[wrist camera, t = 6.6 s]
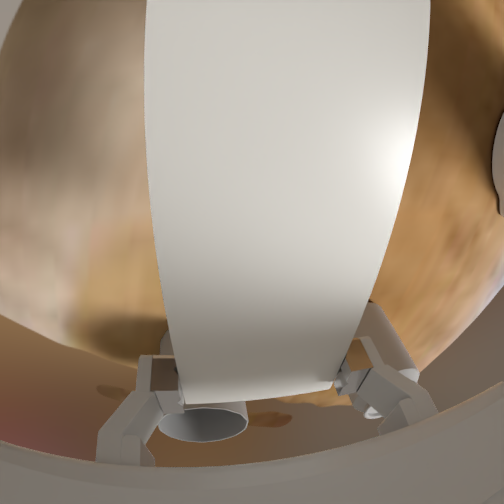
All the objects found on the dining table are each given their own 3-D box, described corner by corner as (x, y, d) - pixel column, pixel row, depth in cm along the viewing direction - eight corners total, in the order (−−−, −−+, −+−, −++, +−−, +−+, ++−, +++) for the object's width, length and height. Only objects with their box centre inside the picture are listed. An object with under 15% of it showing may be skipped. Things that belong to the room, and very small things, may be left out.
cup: (212, 373, 36) (220, 445, 28) (150, 356, 33) (146, 433, 25) (249, 334, 33) (265, 414, 25) (179, 311, 29) (179, 399, 21)
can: (335, 297, 32) (380, 391, 22) (389, 296, 33) (439, 375, 24) (315, 343, 36) (346, 429, 26) (366, 339, 37) (402, 414, 28)
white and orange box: (371, -41, 5) (430, -63, 3) (311, 337, 14) (330, 390, 12) (174, -67, 5) (164, -116, 2) (184, 347, 13) (185, 406, 11)
